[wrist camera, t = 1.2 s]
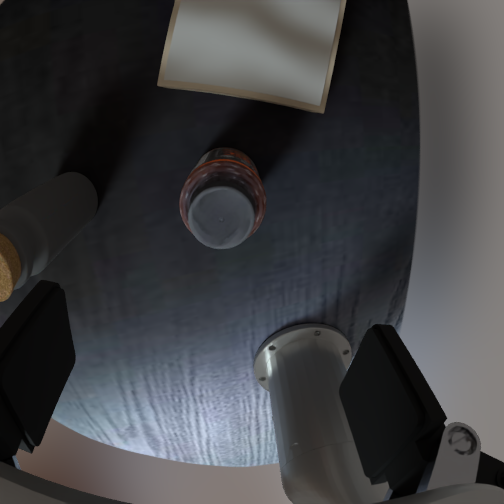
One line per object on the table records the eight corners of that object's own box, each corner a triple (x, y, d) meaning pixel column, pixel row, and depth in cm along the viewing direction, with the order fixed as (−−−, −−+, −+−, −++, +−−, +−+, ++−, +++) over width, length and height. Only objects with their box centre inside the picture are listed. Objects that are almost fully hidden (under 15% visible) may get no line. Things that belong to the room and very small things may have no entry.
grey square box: (311, 112, 27) (324, 113, 23) (167, 87, 25) (156, 85, 21) (336, -11, 21) (351, -25, 18) (196, -37, 20) (191, -56, 16)
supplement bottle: (269, 164, 29) (292, 200, 19) (238, 219, 31) (243, 279, 21) (211, 134, 27) (199, 151, 17) (181, 191, 29) (156, 240, 19)
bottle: (91, 165, 27) (-3, 220, 14) (104, 221, 30) (32, 307, 17) (44, 178, 27) (-53, 237, 14) (59, 230, 30) (-21, 311, 16)
